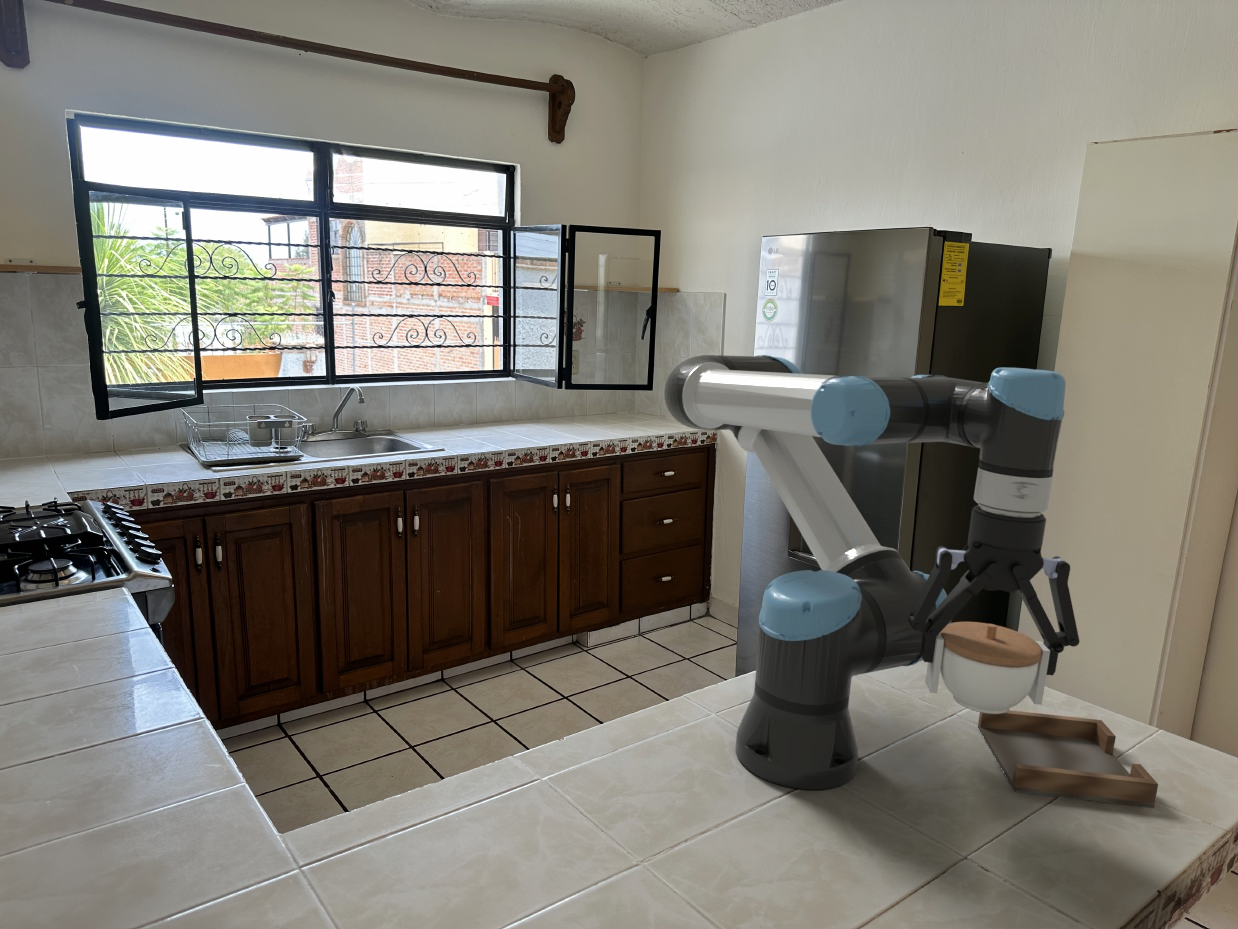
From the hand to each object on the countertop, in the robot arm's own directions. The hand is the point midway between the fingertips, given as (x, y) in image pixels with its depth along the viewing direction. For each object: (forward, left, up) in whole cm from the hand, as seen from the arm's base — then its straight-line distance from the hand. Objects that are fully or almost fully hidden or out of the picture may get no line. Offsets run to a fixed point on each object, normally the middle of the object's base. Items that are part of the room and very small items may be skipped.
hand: (982, 693), depth 97 cm
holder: (+14, +11, -13) cm, 22 cm away
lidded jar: (0, 0, -1) cm, 1 cm away
